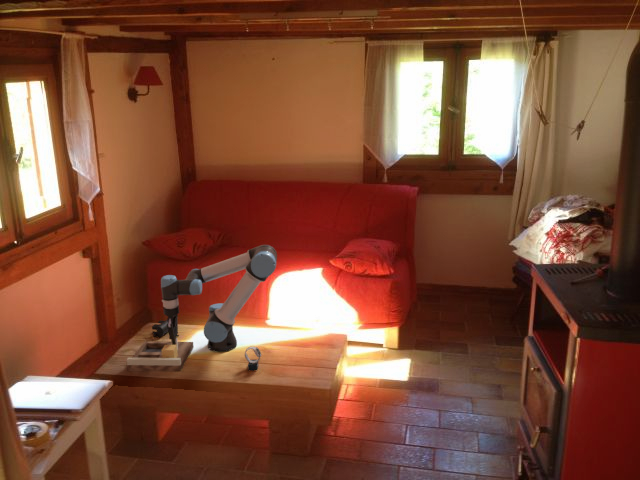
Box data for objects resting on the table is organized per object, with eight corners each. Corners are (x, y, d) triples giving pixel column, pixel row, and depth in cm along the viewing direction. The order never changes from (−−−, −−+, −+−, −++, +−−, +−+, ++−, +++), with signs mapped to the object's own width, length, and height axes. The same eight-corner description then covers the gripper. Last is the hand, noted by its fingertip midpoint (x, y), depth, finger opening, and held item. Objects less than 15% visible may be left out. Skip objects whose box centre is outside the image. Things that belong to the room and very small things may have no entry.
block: (177, 355, 295) (176, 344, 294) (174, 361, 290) (173, 350, 288) (166, 355, 296) (165, 344, 294) (162, 361, 290) (161, 350, 288)
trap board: (193, 347, 311) (192, 336, 310) (180, 371, 286) (179, 359, 285) (144, 346, 312) (143, 336, 311) (127, 370, 287) (126, 359, 286)
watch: (261, 370, 286) (260, 350, 283) (244, 370, 286) (243, 350, 283) (262, 365, 292) (261, 344, 289) (246, 365, 292) (245, 344, 289)
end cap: (163, 338, 322) (162, 327, 320) (152, 337, 324) (151, 325, 322) (173, 331, 331) (172, 319, 329) (162, 329, 333) (161, 318, 331)
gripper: (166, 301, 298) (170, 344, 305) (159, 311, 286) (164, 355, 292) (181, 301, 298) (185, 343, 305) (175, 311, 286) (179, 355, 292)
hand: (175, 349), depth 298 cm, fingers closed
